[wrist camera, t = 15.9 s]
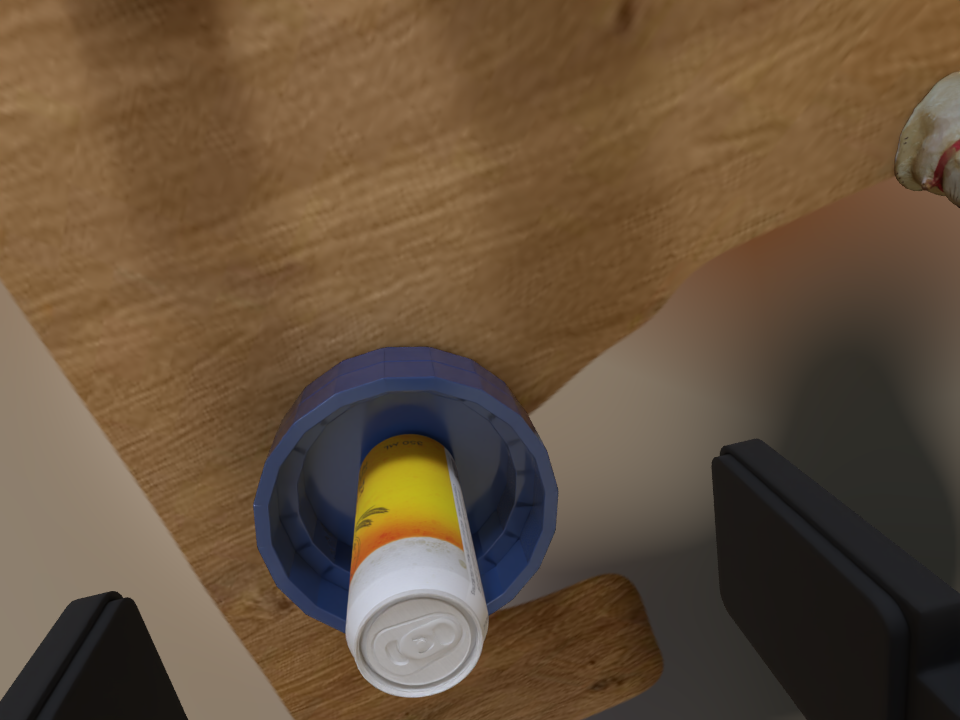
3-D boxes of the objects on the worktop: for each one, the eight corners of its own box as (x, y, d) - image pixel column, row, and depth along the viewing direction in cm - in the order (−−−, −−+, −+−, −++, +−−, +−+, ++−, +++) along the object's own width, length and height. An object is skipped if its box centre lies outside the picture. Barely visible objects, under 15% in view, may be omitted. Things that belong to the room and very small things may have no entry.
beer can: (342, 453, 39) (316, 624, 25) (432, 412, 39) (458, 561, 25) (385, 528, 41) (383, 726, 27) (470, 490, 41) (514, 668, 27)
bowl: (313, 309, 37) (300, 338, 31) (571, 386, 40) (601, 424, 35) (245, 548, 41) (222, 612, 35) (485, 597, 45) (499, 662, 39)
